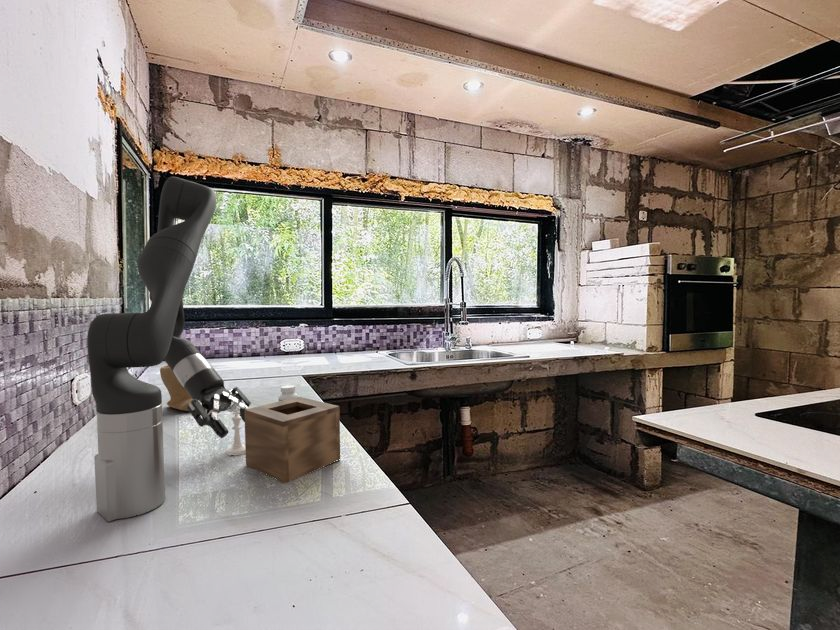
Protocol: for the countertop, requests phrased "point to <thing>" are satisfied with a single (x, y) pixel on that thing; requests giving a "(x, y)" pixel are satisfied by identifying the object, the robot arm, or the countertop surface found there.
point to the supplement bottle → (287, 392)
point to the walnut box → (292, 437)
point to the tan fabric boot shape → (175, 389)
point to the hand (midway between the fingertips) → (239, 429)
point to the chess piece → (236, 437)
